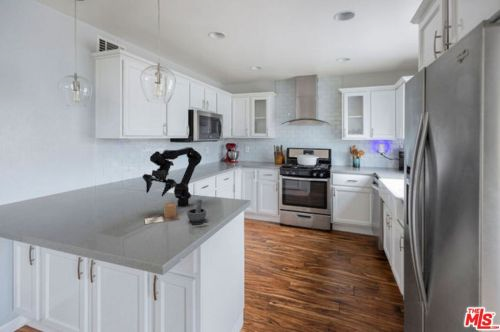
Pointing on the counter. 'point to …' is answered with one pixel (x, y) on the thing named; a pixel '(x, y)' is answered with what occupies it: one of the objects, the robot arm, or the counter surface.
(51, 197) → the counter surface
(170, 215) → the tan wooden cube
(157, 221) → the board
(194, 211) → the mortar and pestle
